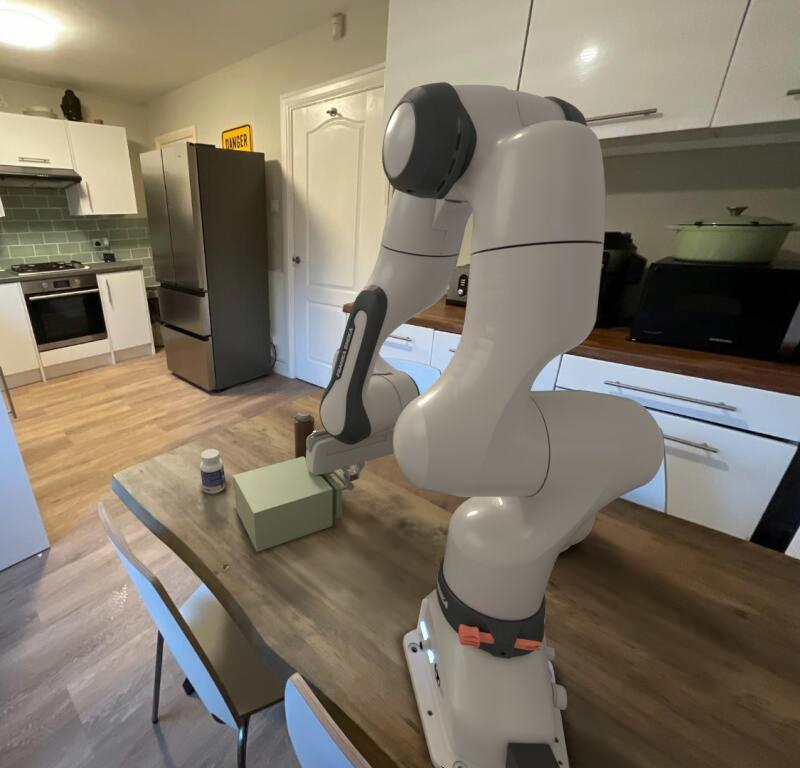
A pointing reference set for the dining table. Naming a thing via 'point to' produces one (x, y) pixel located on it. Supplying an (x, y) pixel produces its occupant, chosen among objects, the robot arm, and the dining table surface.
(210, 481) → the pill bottle
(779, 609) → the dining table surface
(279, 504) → the cabinet
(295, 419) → the pepper mill
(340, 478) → the drawer
